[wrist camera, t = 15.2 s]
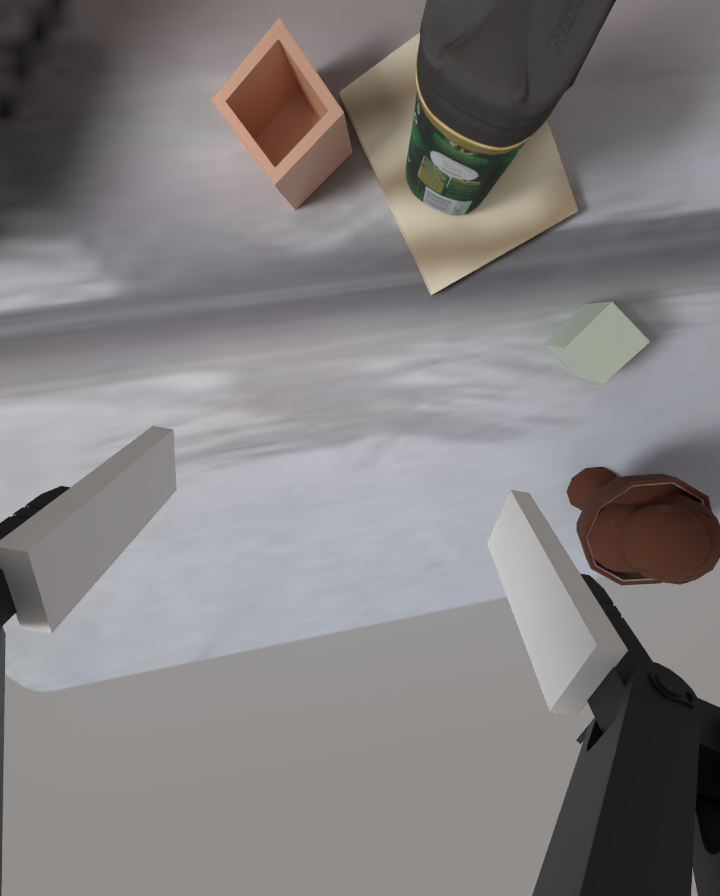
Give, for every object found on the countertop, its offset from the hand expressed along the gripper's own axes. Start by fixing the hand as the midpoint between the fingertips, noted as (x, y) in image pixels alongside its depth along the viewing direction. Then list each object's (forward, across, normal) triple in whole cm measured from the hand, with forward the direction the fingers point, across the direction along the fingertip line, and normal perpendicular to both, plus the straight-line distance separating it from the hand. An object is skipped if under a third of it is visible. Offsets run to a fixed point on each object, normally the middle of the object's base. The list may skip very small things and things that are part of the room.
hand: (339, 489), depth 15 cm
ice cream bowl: (+25, +28, -10) cm, 39 cm away
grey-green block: (+27, +21, +4) cm, 34 cm away
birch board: (+29, +5, +17) cm, 34 cm away
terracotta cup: (+30, -9, +16) cm, 35 cm away
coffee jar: (+28, +5, +17) cm, 34 cm away
